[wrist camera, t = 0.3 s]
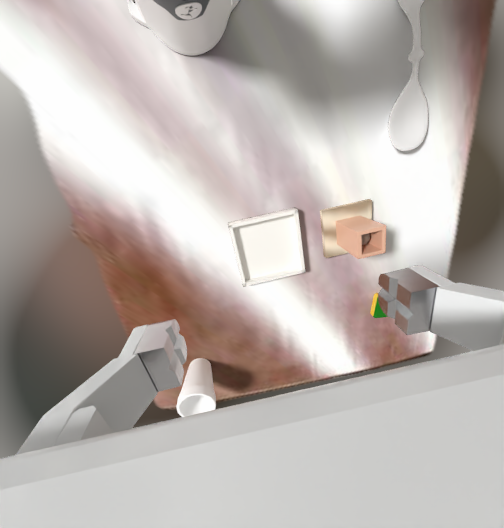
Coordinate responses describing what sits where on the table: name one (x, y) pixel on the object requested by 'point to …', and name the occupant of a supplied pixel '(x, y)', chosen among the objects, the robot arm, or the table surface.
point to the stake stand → (340, 213)
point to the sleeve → (351, 236)
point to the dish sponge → (377, 308)
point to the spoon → (410, 93)
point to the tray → (268, 246)
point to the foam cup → (197, 389)
